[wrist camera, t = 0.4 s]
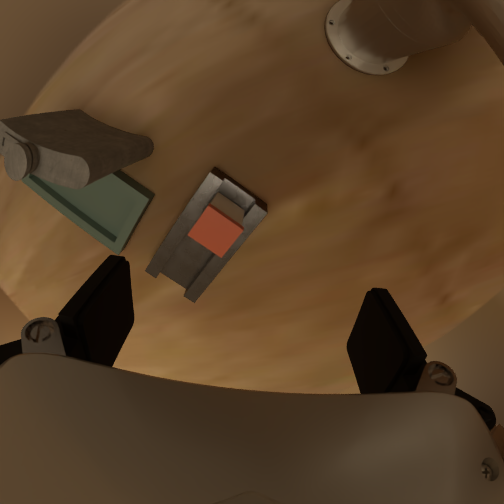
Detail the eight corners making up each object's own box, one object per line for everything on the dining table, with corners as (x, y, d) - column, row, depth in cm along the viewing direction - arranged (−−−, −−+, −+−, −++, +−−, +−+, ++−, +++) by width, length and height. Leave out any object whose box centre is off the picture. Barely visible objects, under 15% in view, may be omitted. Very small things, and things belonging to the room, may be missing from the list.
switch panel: (214, 166, 40) (210, 172, 36) (267, 204, 42) (267, 213, 38) (153, 258, 46) (144, 270, 43) (199, 288, 48) (194, 302, 45)
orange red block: (217, 189, 39) (208, 205, 32) (246, 210, 40) (243, 230, 33) (199, 214, 40) (187, 235, 34) (227, 234, 42) (221, 257, 35)
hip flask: (156, 141, 38) (78, 169, 20) (146, 166, 40) (68, 211, 22) (73, 107, 35) (-23, 120, 17) (65, 131, 37) (-28, 156, 19)
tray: (50, 121, 36) (41, 123, 34) (155, 194, 42) (149, 199, 39) (30, 176, 40) (21, 180, 38) (124, 248, 46) (118, 255, 43)
